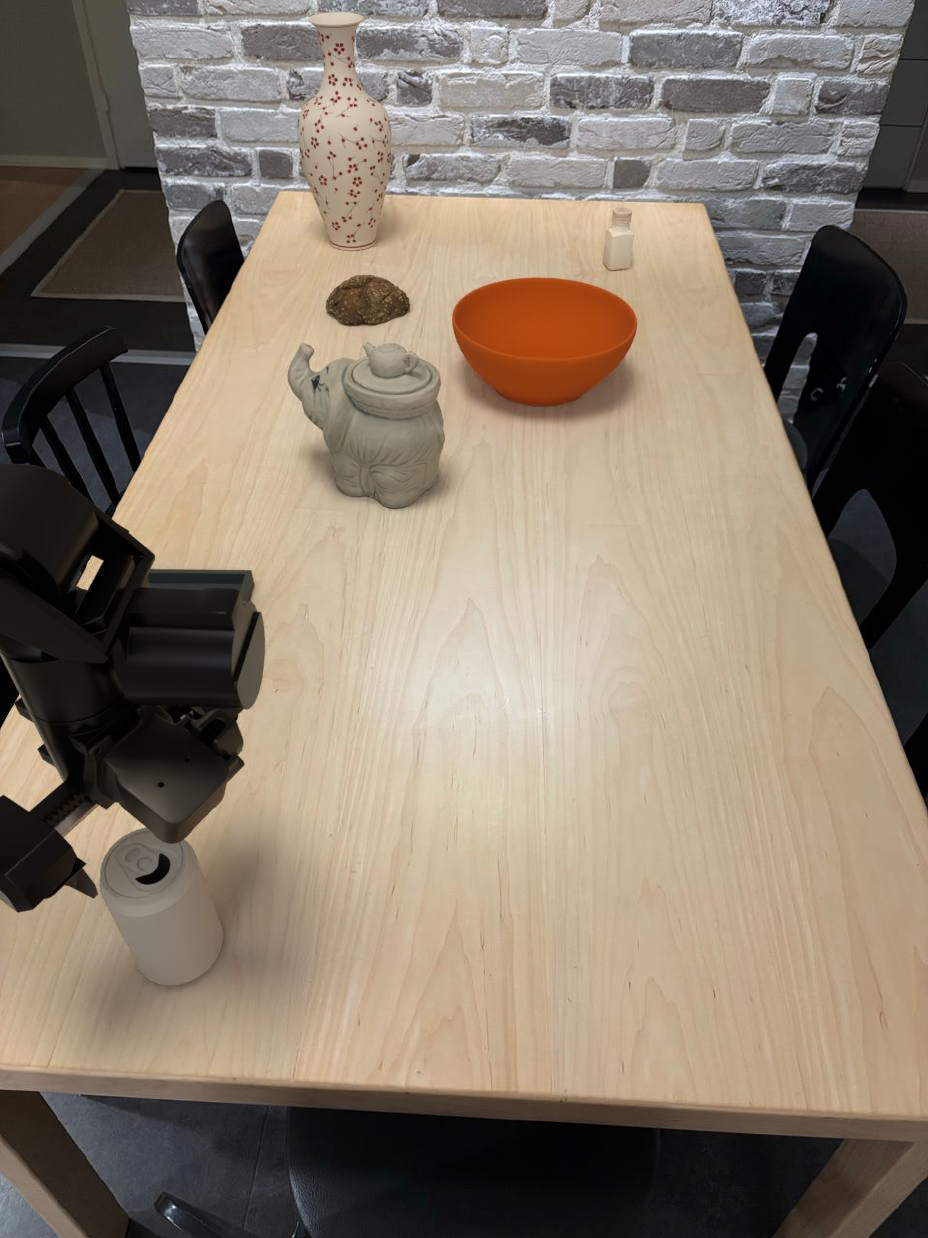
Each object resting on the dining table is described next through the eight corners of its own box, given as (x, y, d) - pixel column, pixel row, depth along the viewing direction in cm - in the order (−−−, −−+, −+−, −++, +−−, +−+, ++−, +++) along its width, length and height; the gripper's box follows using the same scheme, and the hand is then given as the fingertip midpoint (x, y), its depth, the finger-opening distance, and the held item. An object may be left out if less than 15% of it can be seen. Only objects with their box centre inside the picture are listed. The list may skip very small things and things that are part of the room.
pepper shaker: (601, 262, 161) (607, 206, 155) (622, 260, 162) (629, 205, 156) (609, 271, 159) (615, 215, 152) (630, 269, 159) (638, 213, 153)
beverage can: (182, 1007, 65) (142, 924, 57) (119, 961, 68) (72, 875, 60) (242, 936, 69) (213, 849, 61) (181, 895, 72) (145, 806, 63)
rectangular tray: (222, 704, 86) (218, 690, 85) (82, 702, 86) (76, 688, 85) (254, 583, 99) (251, 569, 97) (132, 582, 99) (128, 568, 97)
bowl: (571, 328, 143) (577, 265, 136) (663, 403, 126) (674, 336, 119) (424, 361, 135) (422, 295, 128) (501, 446, 118) (504, 376, 112)
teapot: (296, 459, 116) (276, 318, 103) (405, 432, 121) (399, 294, 108) (340, 532, 105) (324, 385, 92) (458, 499, 110) (458, 355, 97)
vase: (363, 266, 160) (347, 32, 136) (291, 247, 166) (262, 20, 142) (413, 235, 170) (406, 13, 146) (343, 219, 176) (325, 3, 152)
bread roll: (370, 285, 154) (368, 256, 150) (420, 308, 148) (419, 278, 144) (310, 309, 147) (307, 279, 144) (361, 334, 141) (358, 303, 138)
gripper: (38, 881, 42) (124, 1024, 52) (299, 637, 53) (325, 796, 64) (-111, 776, 46) (-3, 928, 57) (161, 571, 57) (207, 730, 68)
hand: (144, 840), depth 61 cm, fingers open, 9 cm apart
